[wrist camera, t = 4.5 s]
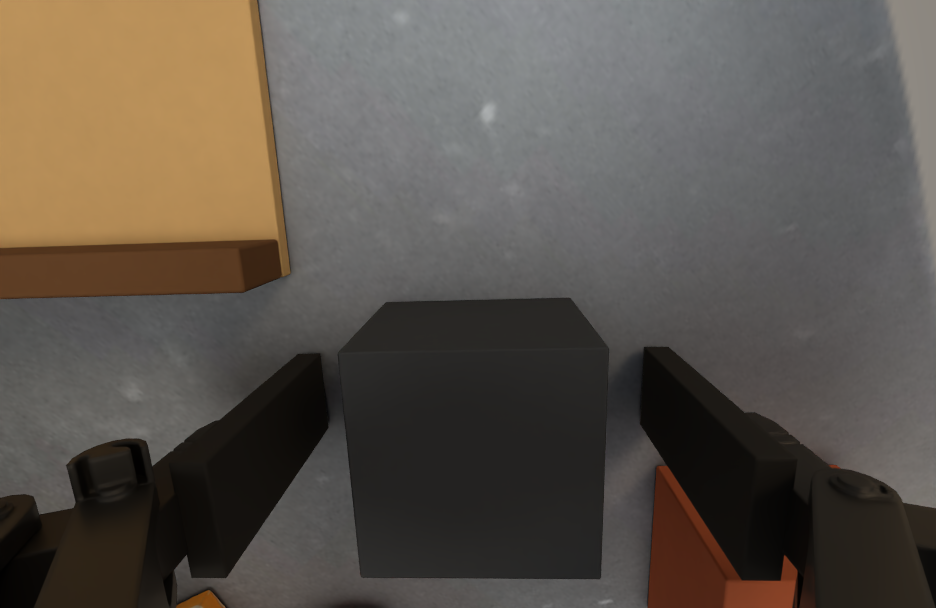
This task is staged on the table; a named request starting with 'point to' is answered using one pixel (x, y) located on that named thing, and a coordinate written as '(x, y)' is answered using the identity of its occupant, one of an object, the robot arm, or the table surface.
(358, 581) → the table surface
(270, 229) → the tan flat wooden board
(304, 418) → the robot arm
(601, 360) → the slate cube
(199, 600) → the supplement box
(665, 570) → the terracotta cube
